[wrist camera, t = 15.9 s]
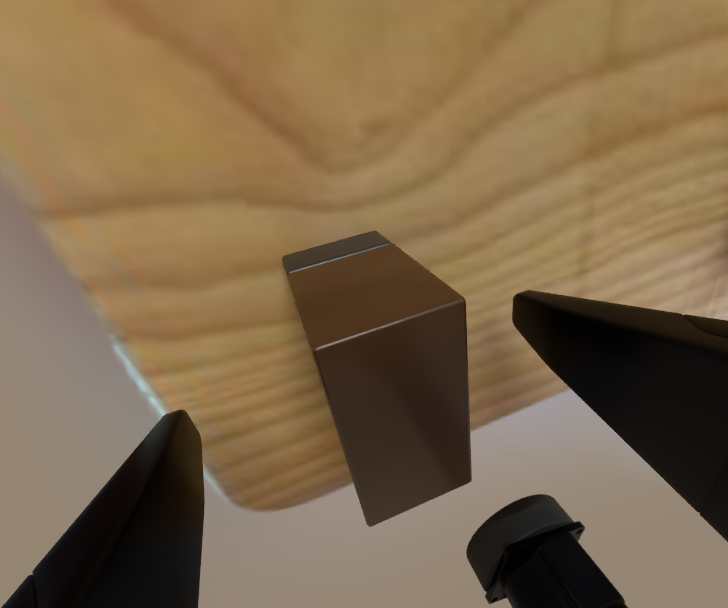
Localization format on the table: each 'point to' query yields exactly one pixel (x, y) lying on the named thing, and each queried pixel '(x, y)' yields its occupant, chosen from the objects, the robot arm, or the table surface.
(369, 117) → the table surface
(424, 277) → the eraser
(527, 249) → the table surface
